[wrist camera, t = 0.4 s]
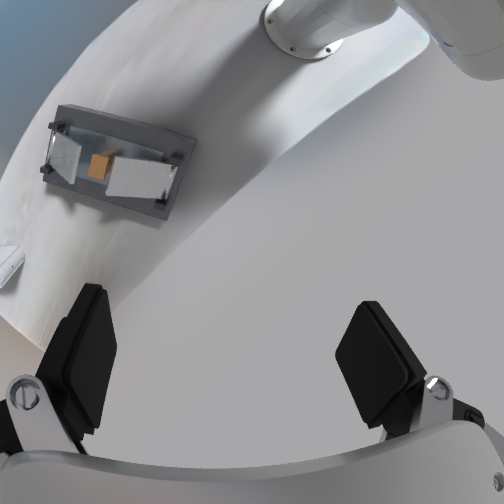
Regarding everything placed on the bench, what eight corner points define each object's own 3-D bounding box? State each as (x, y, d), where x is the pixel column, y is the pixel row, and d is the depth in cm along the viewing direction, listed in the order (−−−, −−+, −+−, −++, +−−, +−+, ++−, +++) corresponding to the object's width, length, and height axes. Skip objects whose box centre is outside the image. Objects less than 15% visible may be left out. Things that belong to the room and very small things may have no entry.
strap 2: (176, 163, 35) (180, 166, 35) (164, 196, 37) (168, 200, 37) (114, 154, 29) (116, 157, 28) (104, 192, 31) (106, 196, 30)
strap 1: (52, 161, 32) (45, 162, 30) (58, 129, 30) (52, 129, 28) (76, 183, 29) (68, 184, 28) (84, 146, 27) (76, 146, 26)
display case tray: (70, 104, 31) (43, 106, 24) (196, 139, 38) (192, 147, 31) (54, 174, 36) (29, 189, 29) (170, 210, 43) (162, 232, 36)
